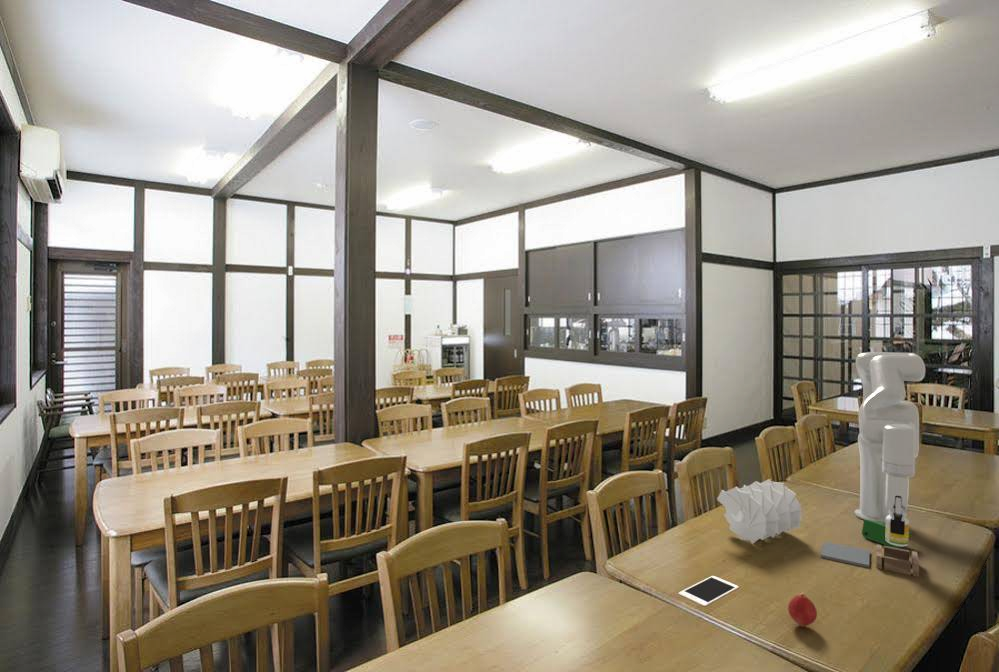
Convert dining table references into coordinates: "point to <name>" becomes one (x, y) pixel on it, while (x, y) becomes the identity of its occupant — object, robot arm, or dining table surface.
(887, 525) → the supplement bottle
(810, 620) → the onion
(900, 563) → the frame
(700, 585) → the cell phone
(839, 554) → the rubber mat
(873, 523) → the clamp
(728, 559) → the dining table surface
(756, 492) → the white origami shape
